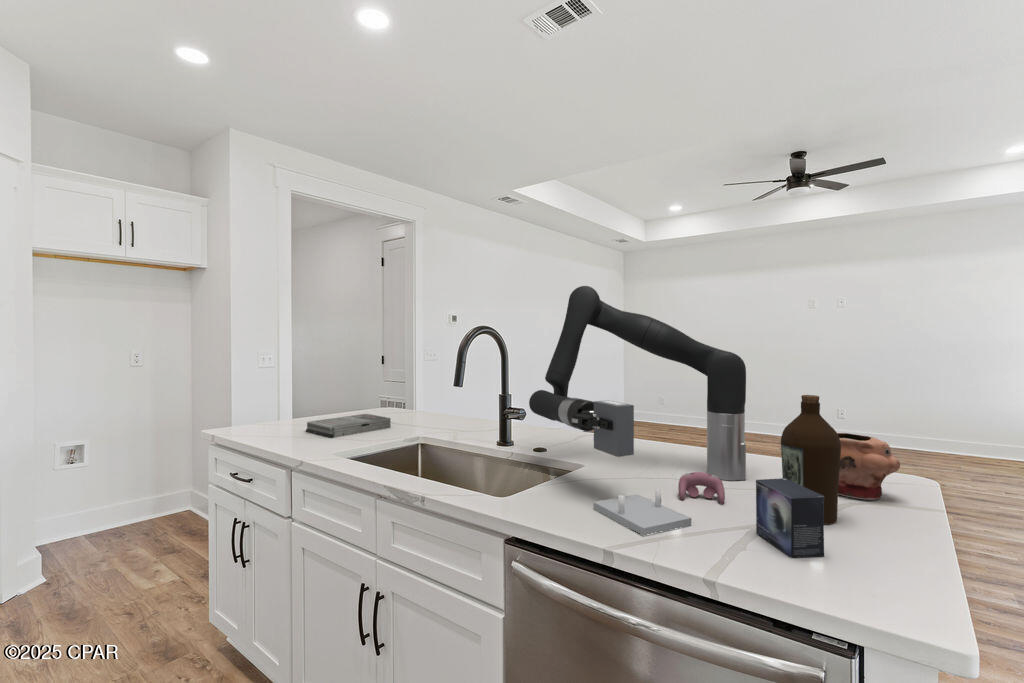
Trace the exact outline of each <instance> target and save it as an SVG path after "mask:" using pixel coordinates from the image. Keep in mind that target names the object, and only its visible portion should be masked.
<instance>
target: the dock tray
mask: <svg viewBox="0 0 1024 683" xmlns="http://www.w3.org/2000/svg"><path fill="white" fill-rule="evenodd" d="M654 491H655V492H654V493H655V494H654V495H655V496H654V497H655V500H652V499H649V498H647V497H645V496H642V495H640V494H638V493H636V494H632V495H626V496H625V495H624V494H618V497H615V498H609V499H604V500H597V501H593V510H594V511H597V512H598V513H600V514H602V515H603V516H605V515H606V517H607V518H609V519H611V520H612V521H615V522H617V523H619V524H620V525H622V526H624V527H625V528H627V527H628V529H629V528H630V529H629V530H631V529H632V531H633V530H634V531H633V532H635V531H636V532H635V533H637V532H638V533H640V534H642V535H647V534H651V533H655V532H660V531H665V532H667V531H666V530H669V531H671V530H670V529H674V530H676V529H675V528H678V529H681V528H680V527H683V528H686V527H685V526H687V527H690V526H689V525H691V526H692V517H691V516H688V515H686V514H685V513H681V512H679V511H676V510H674V509H672V508H670V507H668V506H665V505H663V504H662V489H661V488H655V490H654ZM638 533H637V534H638ZM660 533H661V532H660ZM640 534H639V535H640ZM642 535H641V536H642ZM647 536H648V535H647Z"/></svg>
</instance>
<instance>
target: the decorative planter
mask: <svg viewBox="0 0 1024 683" xmlns="http://www.w3.org/2000/svg"><path fill="white" fill-rule="evenodd" d="M837 434H838V436H839V439H840V442H841V456H840V470H839V486H838V496H839V495H841V496H844V497H848V498H853V499H859V500H869V501H870V500H877V499H880V498H882V494H883V489H882V483H883V481H884V480H885V478H886V477H887V476H889V475H891V474H894V473H896V472H897V471H899V470H900V469H901V468H900V467H901V461H900V460H899V459H897V458H896V457H895V456H894V455H893V454H892V452H891V446H890V445H889V444H888V443H887V442H886V441H883V440H881V439H878V438H875V437H873V436H867V435H860V434H856V433H855V434H853V433H846V432H837Z"/></svg>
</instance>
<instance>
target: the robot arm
mask: <svg viewBox="0 0 1024 683" xmlns="http://www.w3.org/2000/svg"><path fill="white" fill-rule="evenodd" d="M587 326H593V327H595V328H597V329H601V330H604V331H607V333H611V334H612V335H614V336H616V337H618V338H620V339H622V341H623V340H624V341H626V342H627V343H629V344H630V345H634V346H635V347H637V348H639V349H641V350H643V351H645V352H648V353H650V354H653V355H655V356H657V357H660V358H663V359H665V360H670V361H673V362H676V363H680V364H683V365H685V366H688V367H690V368H692V369H693V370H695V371H698V372H700V374H702V375H704V376H706V377H707V381H706V382H707V383H706V384H707V386H706V387H707V388H706V389H707V392H706V394H707V395H706V398H707V399H706V473H708V474H711V475H715V476H717V477H718V478H719V479H720V480H721V481H722V480H723V481H746V478H747V474H746V473H747V471H746V470H747V469H746V468H747V467H746V466H747V456H746V454H747V453H746V452H747V449H746V448H747V446H746V445H747V444H746V441H745V439H746V438H745V434H746V433H745V432H746V431H745V430H746V429H745V428H746V427H745V425H746V421H745V414H746V413H745V412H746V411H745V410H746V409H745V408H746V407H745V406H746V400H747V399H746V398H747V397H746V396H747V393H746V391H747V367H746V364H745V362H744V360H743V358H741V356H739V355H738V354H736V353H734V352H731V351H728V350H723V349H720V348H717V347H714V346H710V345H708V344H705V343H702V342H700V341H698V340H696V339H694V338H692V337H691V336H690V335H688V334H685V333H684V332H682V331H681V330H679V329H677V328H675V327H673V326H672V325H669V324H667V323H665V322H664V321H661V320H658V319H656V318H654V317H651V316H648V315H644V314H641V313H636V312H629V311H625V310H621V309H618V308H616V307H614V306H612V305H610V304H608V303H606V302H605V301H603V300H601V298H600V295H599V293H598V292H597V290H596V289H594V288H593V287H591V286H590V285H589V286H588V285H581V286H579V287H576V288H574V290H573V291H572V292H571V293H570V295H569V297H568V303H567V308H566V313H565V318H564V322H563V326H562V330H561V332H560V335H559V339H558V341H557V345H556V347H555V349H554V352H553V354H552V358H551V360H550V363H549V365H548V368H547V371H546V374H545V377H544V379H545V381H546V383H548V384H549V385H550V386H552V388H553V392H550V391H548V390H543V389H539V390H536V391H534V392H533V393H532V394H531V395H530V397H529V401H528V404H529V409H530V411H531V412H532V413H533V414H535V415H537V416H540V417H542V418H546V419H548V420H550V421H557V422H559V423H560V424H561V423H562V424H564V425H566V426H568V427H571V428H574V429H577V430H579V431H582V432H583V431H584V432H591V431H594V428H597V429H600V428H602V429H606V430H609V431H610V430H613V421H612V420H608V419H604V418H601V417H598V416H597V414H595V413H594V401H592V400H587V399H583V398H578V397H569V396H568V393H569V387H570V386H569V384H570V381H571V378H572V376H573V373H574V370H575V367H576V364H577V361H578V356H579V352H580V348H581V343H582V340H583V337H584V333H585V331H586V329H587Z"/></svg>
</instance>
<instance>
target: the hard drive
mask: <svg viewBox="0 0 1024 683" xmlns="http://www.w3.org/2000/svg"><path fill="white" fill-rule="evenodd" d="M391 427H392V426H391V417H387V416H381V415H376V414H369V413H361V414H353V415H346V416H339V417H338V416H337V417H333V418H325V419H319V420H311V421H307V422H306V429H305V433H307V434H311V435H312V434H313V435H316V436H320V437H324V438H328V439H334V438H340V437H346V436H353V435H357V434H358V433H359V434H364V433H369V432H375V431H381V430H386V429H388V430H389V429H391Z"/></svg>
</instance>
